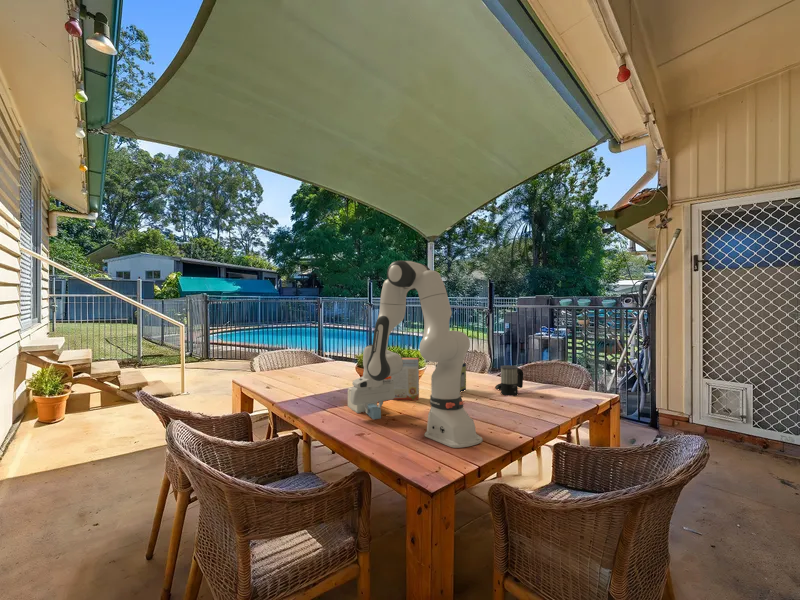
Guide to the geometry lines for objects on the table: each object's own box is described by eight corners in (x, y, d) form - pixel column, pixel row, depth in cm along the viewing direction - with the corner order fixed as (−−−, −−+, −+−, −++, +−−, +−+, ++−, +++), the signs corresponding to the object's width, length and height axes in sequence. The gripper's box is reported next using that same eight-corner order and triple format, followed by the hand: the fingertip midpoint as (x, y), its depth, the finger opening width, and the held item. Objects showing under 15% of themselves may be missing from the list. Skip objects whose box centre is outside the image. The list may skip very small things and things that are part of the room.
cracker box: (419, 397, 197) (419, 357, 197) (418, 400, 191) (418, 359, 191) (392, 396, 198) (392, 357, 198) (391, 399, 192) (390, 358, 192)
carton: (377, 410, 175) (377, 392, 175) (357, 413, 170) (357, 395, 170) (366, 403, 186) (366, 387, 185) (347, 406, 181) (347, 389, 181)
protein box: (435, 393, 206) (435, 364, 206) (450, 387, 218) (450, 360, 218) (451, 396, 199) (451, 366, 199) (466, 390, 211) (466, 362, 211)
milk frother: (512, 397, 197) (512, 368, 197) (486, 392, 208) (486, 365, 208) (525, 392, 207) (525, 365, 207) (499, 387, 218) (499, 361, 218)
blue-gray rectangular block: (380, 418, 163) (380, 409, 163) (373, 419, 162) (373, 410, 162) (373, 412, 172) (373, 403, 172) (365, 412, 171) (365, 404, 171)
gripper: (390, 376, 175) (390, 406, 175) (349, 381, 165) (349, 413, 165) (397, 379, 169) (397, 410, 169) (354, 384, 159) (354, 417, 159)
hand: (373, 411), depth 167 cm, fingers closed on blue-gray rectangular block, 4 cm apart
